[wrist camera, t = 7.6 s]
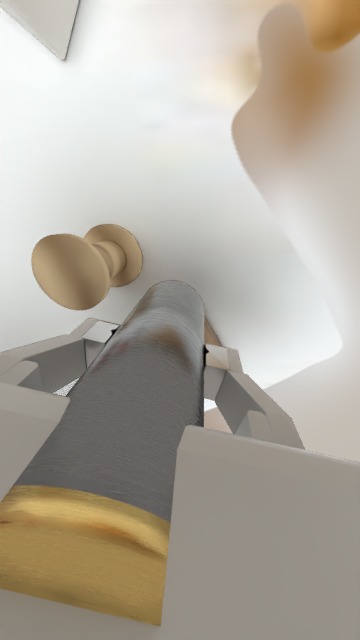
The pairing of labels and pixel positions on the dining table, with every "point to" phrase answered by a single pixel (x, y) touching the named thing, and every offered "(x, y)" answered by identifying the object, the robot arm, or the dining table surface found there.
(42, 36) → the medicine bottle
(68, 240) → the tan spool
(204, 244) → the dining table surface
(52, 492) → the gold lidded spice jar
